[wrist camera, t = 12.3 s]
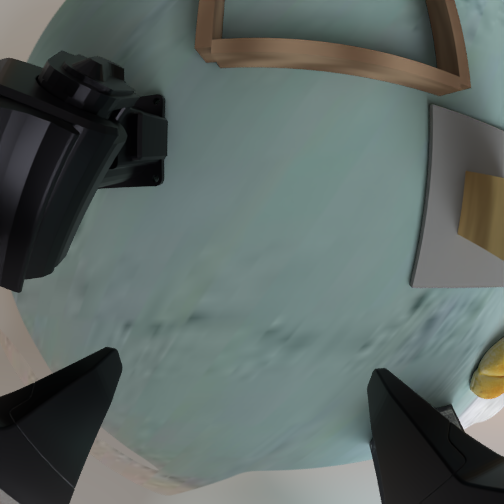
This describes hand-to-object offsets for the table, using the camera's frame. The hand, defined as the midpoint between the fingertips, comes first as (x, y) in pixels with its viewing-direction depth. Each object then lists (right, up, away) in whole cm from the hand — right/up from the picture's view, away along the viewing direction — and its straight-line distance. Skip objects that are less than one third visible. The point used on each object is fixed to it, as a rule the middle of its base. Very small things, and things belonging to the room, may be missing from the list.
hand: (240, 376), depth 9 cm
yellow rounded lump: (+30, -9, +14) cm, 35 cm away
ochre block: (+19, +8, +8) cm, 22 cm away
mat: (+19, +8, +9) cm, 22 cm away
